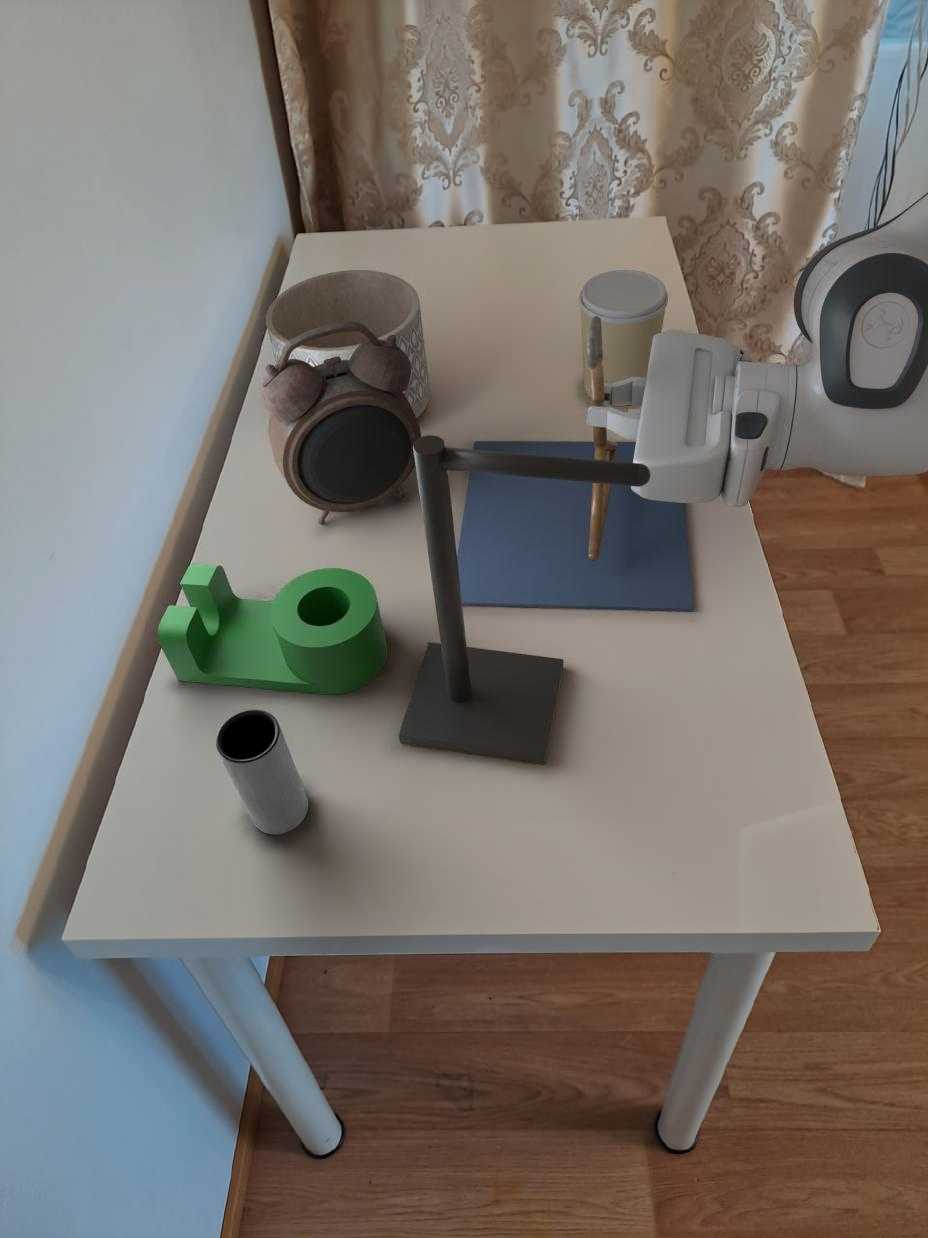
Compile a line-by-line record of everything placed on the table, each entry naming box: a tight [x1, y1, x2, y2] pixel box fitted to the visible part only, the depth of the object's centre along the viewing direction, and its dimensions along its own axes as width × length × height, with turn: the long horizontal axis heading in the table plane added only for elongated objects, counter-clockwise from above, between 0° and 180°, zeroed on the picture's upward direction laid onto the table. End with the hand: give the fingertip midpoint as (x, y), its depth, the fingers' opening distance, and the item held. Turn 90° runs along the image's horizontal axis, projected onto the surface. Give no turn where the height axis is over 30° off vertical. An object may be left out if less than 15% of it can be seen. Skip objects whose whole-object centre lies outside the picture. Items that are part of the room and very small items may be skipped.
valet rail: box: [398, 434, 650, 765], centre depth 65 cm, size 18×10×27 cm, turn 77°
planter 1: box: [215, 709, 309, 835], centre depth 67 cm, size 4×4×10 cm
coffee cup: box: [578, 269, 669, 407], centre depth 100 cm, size 9×9×12 cm
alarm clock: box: [260, 322, 422, 525], centre depth 87 cm, size 14×7×20 cm, turn 112°
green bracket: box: [157, 563, 388, 696], centre depth 79 cm, size 18×9×6 cm, turn 80°
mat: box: [457, 440, 694, 612], centre depth 90 cm, size 22×24×1 cm
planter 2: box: [265, 269, 431, 419], centre depth 101 cm, size 16×16×13 cm
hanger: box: [586, 316, 618, 561], centre depth 82 cm, size 1×17×19 cm, turn 167°
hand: (589, 404), depth 80 cm, fingers closed on hanger, 1 cm apart
